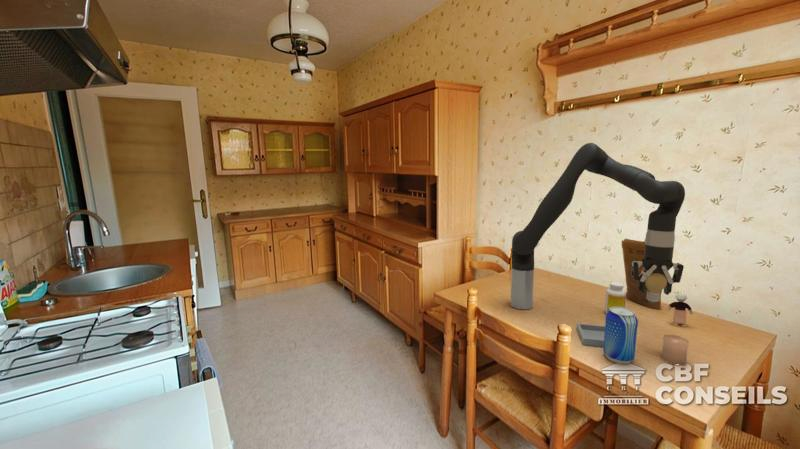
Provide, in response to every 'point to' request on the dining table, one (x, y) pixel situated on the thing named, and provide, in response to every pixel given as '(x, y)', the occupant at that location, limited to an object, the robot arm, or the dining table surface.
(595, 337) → the tray
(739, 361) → the dining table surface
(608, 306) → the supplement bottle
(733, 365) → the dining table surface
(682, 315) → the grandmother figurine
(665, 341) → the beige rounded block
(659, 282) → the light bulb
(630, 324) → the beer can
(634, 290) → the pancake mix bag
